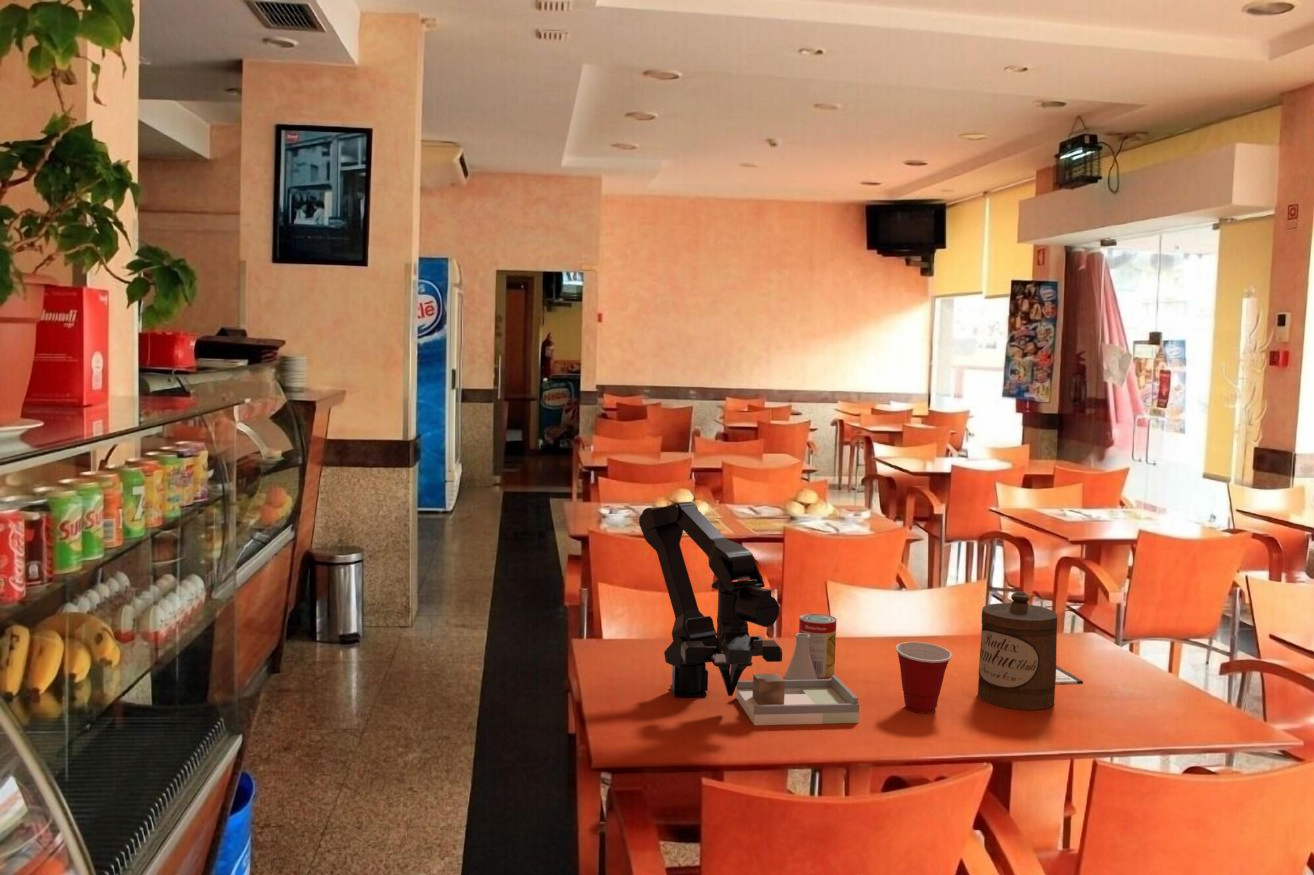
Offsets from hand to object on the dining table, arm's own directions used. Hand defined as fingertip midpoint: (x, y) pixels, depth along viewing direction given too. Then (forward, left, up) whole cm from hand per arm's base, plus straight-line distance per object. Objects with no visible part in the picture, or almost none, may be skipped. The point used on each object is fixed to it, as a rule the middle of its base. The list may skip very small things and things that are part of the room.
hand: (729, 695), depth 215 cm
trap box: (+13, 0, -3) cm, 13 cm away
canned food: (+24, +24, -3) cm, 34 cm away
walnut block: (+8, 0, -1) cm, 8 cm away
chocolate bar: (+75, +22, -4) cm, 78 cm away
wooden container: (+60, +4, -3) cm, 60 cm away
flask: (+19, +18, -3) cm, 26 cm away
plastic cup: (+38, -1, -3) cm, 38 cm away
